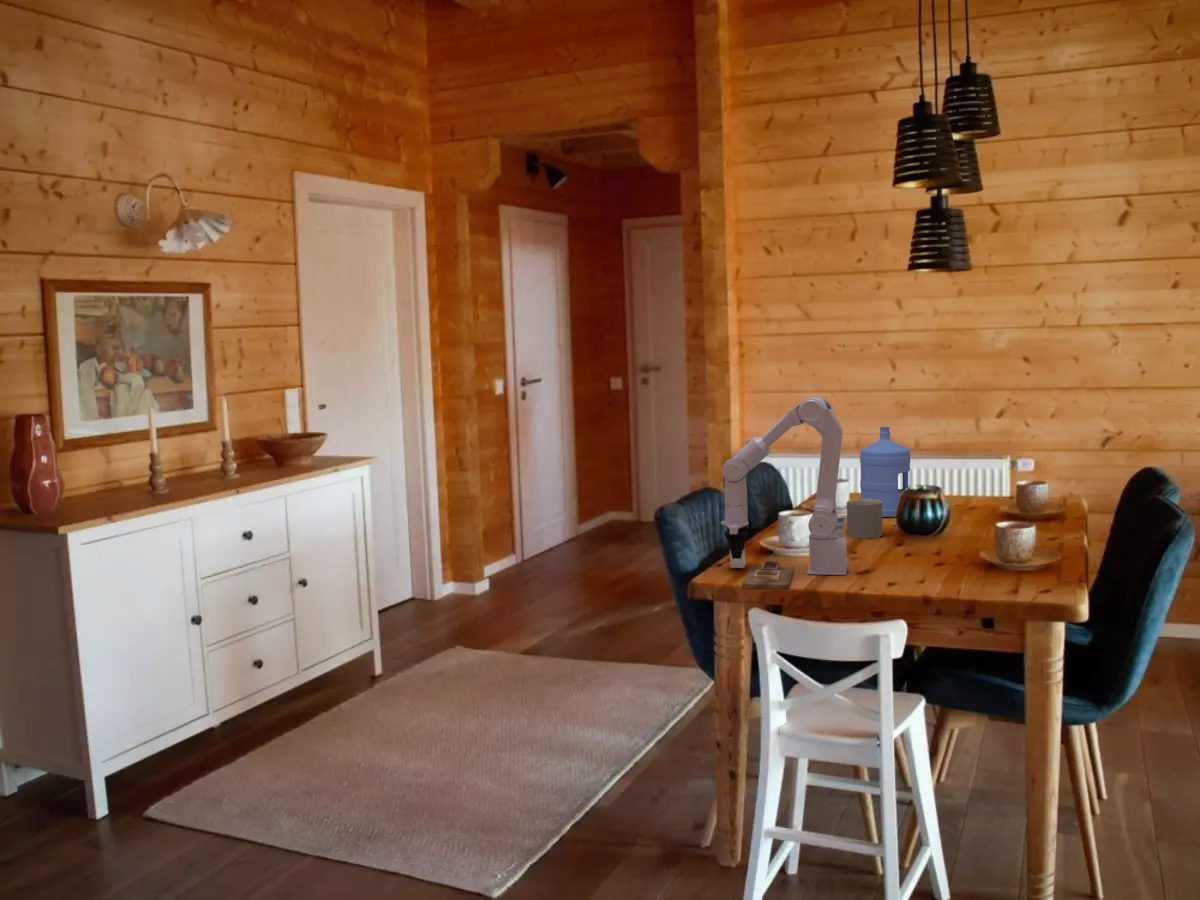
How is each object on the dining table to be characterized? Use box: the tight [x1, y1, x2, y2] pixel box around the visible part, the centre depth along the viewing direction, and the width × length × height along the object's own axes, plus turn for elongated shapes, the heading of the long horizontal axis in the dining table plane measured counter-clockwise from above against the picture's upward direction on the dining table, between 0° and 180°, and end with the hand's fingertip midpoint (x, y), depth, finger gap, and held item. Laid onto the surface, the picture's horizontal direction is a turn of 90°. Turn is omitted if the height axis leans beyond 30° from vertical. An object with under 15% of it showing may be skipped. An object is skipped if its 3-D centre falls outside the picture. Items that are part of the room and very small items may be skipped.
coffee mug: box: [846, 498, 883, 539], centre depth 332 cm, size 13×10×10 cm
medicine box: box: [834, 515, 846, 538], centre depth 315 cm, size 8×4×9 cm, turn 105°
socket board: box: [741, 560, 795, 590], centre depth 281 cm, size 11×20×2 cm, turn 167°
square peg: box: [729, 547, 746, 569], centre depth 294 cm, size 4×4×4 cm
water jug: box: [859, 426, 911, 517], centre depth 364 cm, size 16×16×28 cm
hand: (737, 556), depth 294 cm, fingers closed on square peg, 3 cm apart
